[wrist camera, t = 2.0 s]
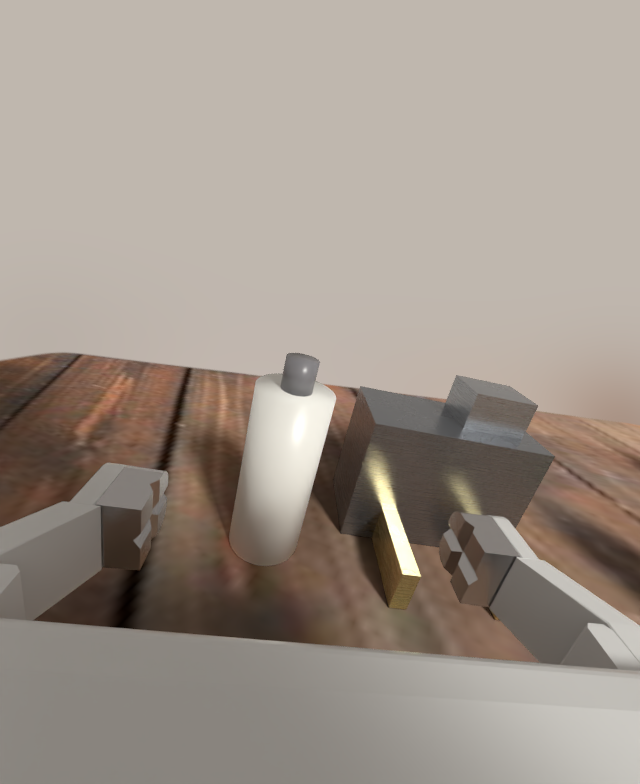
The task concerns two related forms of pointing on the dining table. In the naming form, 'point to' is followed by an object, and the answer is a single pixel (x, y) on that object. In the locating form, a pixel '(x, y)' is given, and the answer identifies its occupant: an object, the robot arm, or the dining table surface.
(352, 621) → the dining table surface
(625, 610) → the dining table surface
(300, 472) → the white bottle
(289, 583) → the dining table surface
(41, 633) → the robot arm
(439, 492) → the motor
